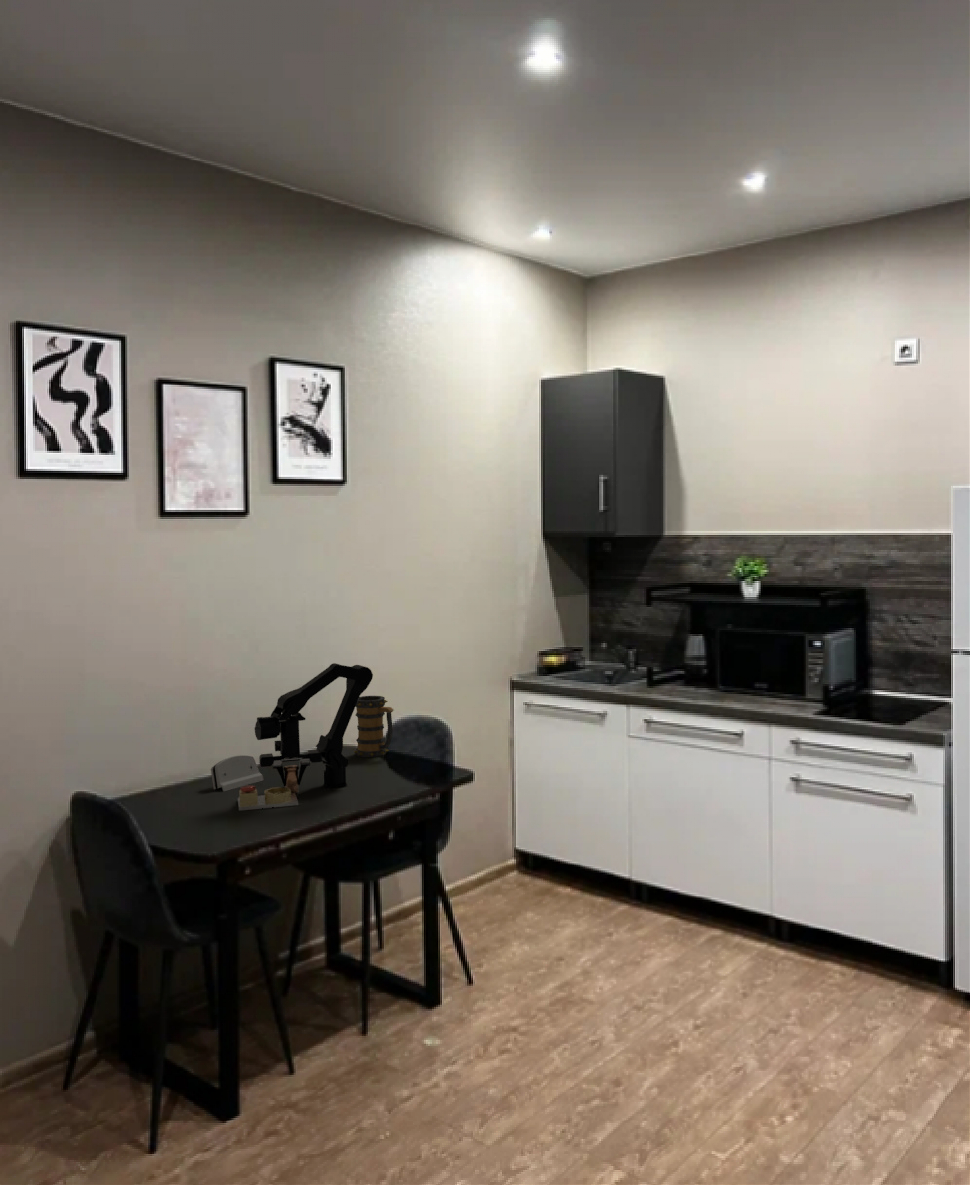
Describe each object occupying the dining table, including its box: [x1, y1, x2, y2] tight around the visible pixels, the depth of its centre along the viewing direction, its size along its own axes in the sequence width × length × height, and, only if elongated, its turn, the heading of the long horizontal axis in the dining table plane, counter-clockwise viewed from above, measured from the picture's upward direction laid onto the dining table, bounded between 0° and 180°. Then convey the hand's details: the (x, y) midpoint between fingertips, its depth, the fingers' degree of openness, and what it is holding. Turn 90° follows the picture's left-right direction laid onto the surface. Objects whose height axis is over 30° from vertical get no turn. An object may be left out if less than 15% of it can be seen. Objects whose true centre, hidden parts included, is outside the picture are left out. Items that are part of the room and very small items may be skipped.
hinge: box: [210, 755, 264, 792], centre depth 330 cm, size 17×5×10 cm, turn 143°
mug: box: [353, 695, 395, 758], centre depth 367 cm, size 13×17×20 cm
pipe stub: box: [283, 764, 299, 794], centre depth 319 cm, size 5×5×8 cm
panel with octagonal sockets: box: [237, 784, 299, 811], centre depth 307 cm, size 17×11×5 cm, turn 105°
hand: (291, 785), depth 319 cm, fingers closed on pipe stub, 4 cm apart
